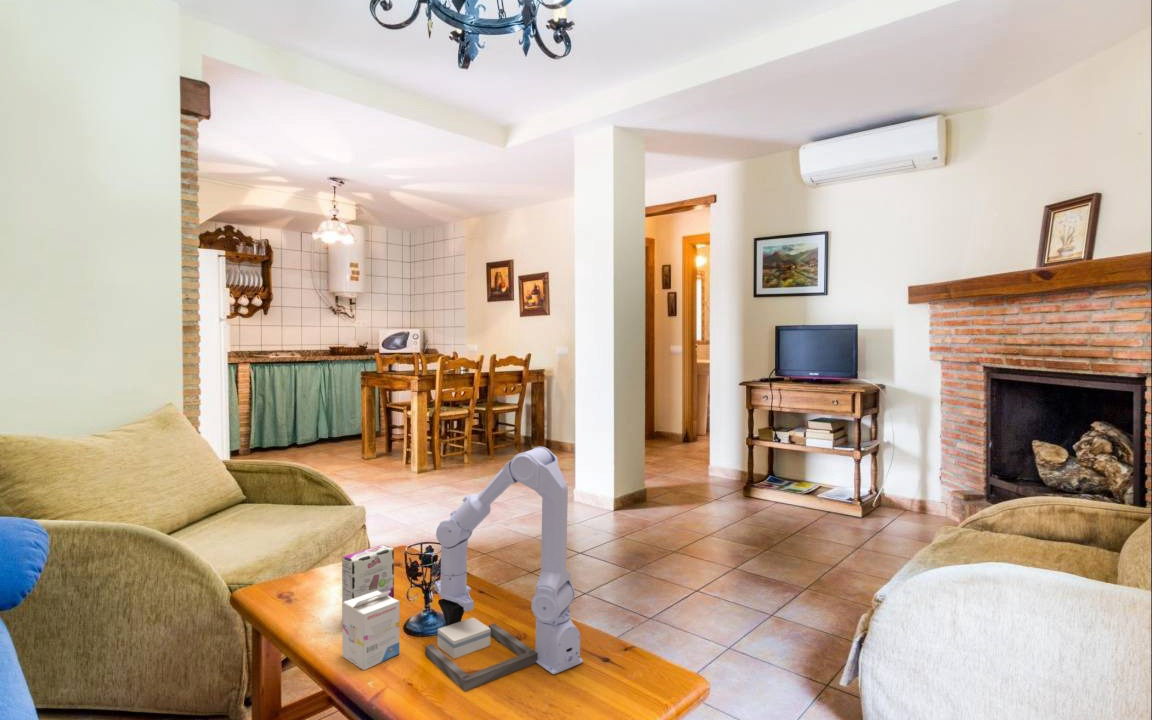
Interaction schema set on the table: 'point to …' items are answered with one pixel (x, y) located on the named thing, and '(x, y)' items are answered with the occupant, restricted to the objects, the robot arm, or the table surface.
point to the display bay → (490, 673)
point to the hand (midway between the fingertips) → (452, 631)
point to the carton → (463, 637)
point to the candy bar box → (368, 572)
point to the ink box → (370, 629)
